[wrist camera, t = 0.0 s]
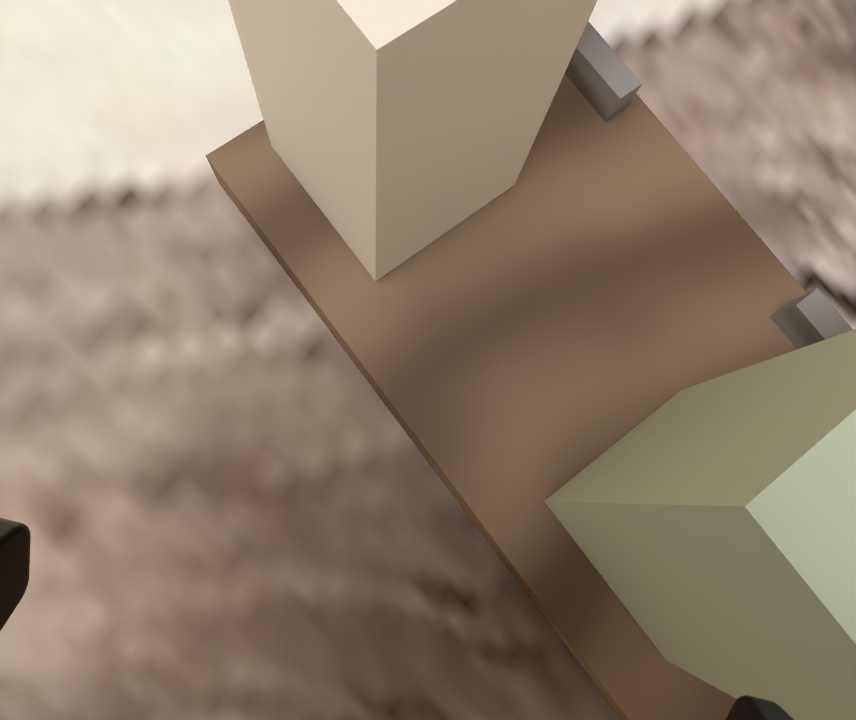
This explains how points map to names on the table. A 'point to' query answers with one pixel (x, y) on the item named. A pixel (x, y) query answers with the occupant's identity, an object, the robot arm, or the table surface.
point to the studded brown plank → (551, 336)
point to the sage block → (739, 529)
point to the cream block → (405, 105)
